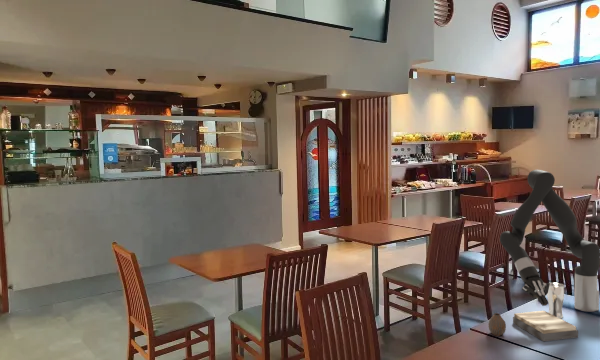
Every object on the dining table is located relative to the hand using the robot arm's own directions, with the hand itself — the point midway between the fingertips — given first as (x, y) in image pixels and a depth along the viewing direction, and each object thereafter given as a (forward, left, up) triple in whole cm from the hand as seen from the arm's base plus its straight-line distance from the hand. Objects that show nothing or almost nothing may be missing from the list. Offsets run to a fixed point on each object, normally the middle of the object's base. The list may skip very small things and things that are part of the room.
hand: (545, 304), depth 197 cm
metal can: (-13, -16, -12) cm, 24 cm away
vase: (+22, +2, -12) cm, 25 cm away
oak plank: (-1, +4, -8) cm, 9 cm away
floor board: (0, 0, -11) cm, 11 cm away
